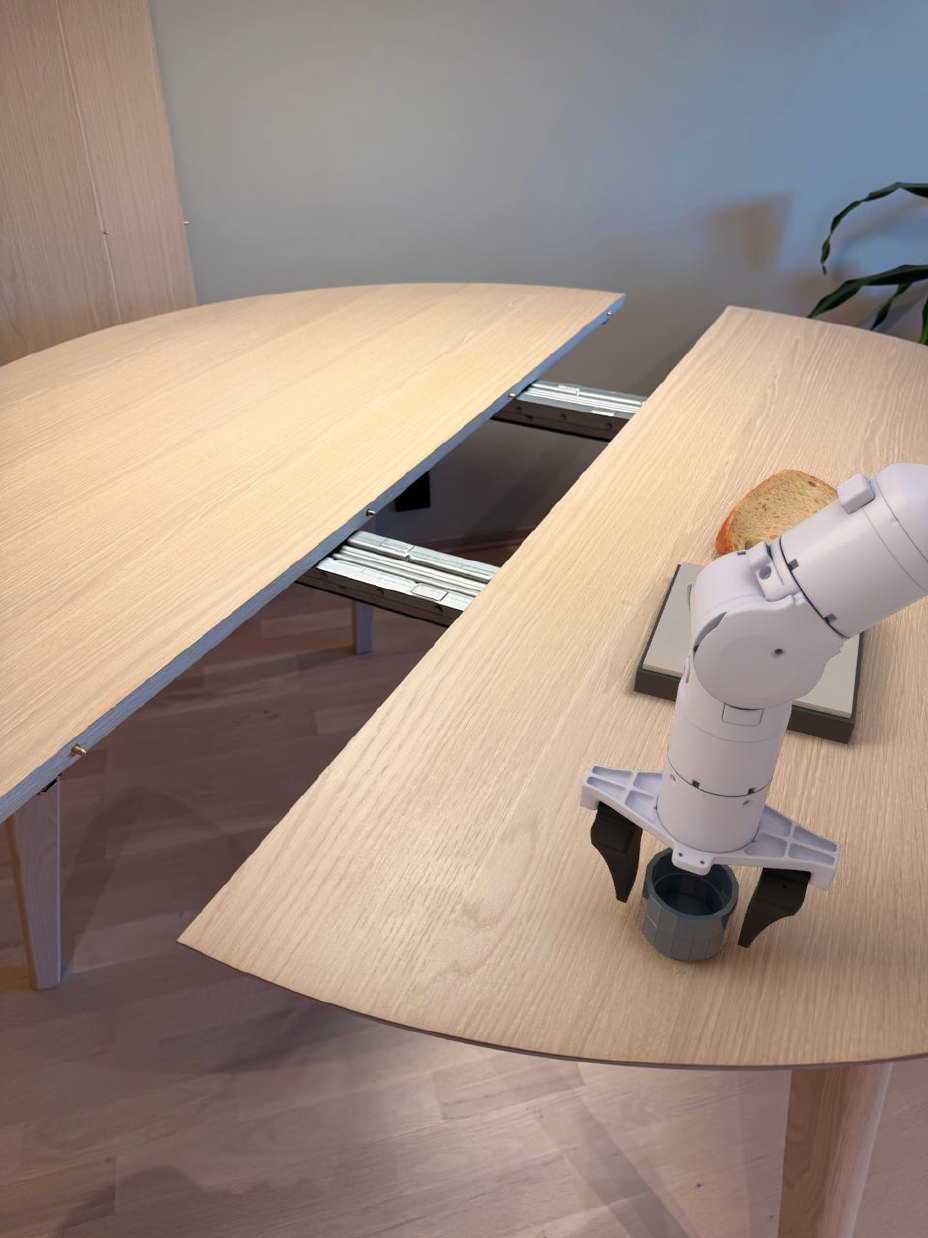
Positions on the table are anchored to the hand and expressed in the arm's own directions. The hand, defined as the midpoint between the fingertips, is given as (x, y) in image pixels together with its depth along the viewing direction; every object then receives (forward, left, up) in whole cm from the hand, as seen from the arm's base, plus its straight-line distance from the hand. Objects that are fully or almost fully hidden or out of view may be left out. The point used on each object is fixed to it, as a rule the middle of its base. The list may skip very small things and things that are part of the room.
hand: (684, 911), depth 60 cm
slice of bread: (+32, -40, -2) cm, 51 cm away
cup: (0, 0, -2) cm, 2 cm away
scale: (+18, -23, -2) cm, 30 cm away
